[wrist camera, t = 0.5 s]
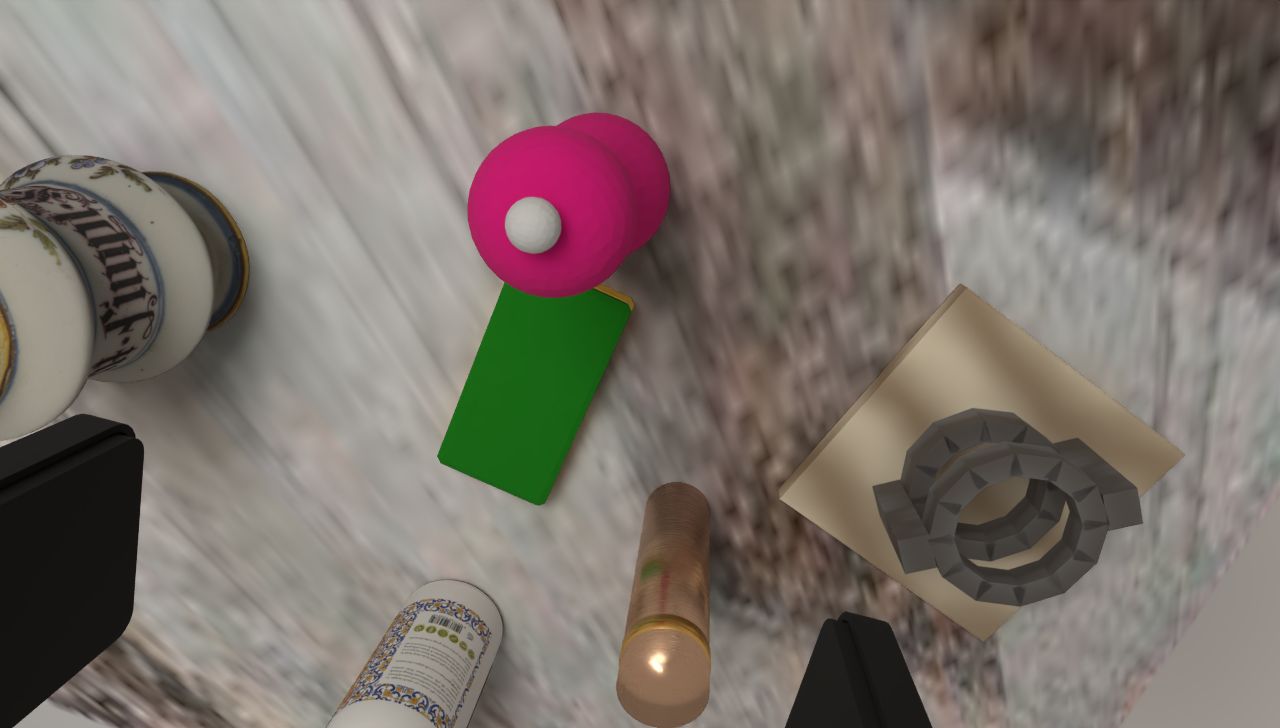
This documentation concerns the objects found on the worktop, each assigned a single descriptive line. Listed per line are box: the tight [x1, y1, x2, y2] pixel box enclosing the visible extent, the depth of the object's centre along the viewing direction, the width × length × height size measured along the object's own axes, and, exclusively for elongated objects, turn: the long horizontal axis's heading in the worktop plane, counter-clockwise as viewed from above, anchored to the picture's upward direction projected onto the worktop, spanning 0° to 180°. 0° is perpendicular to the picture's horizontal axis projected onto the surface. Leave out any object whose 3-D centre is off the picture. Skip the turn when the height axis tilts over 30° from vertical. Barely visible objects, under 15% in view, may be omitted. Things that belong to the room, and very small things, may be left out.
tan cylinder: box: [616, 482, 711, 728], centre depth 40 cm, size 4×4×16 cm
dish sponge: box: [437, 282, 634, 506], centre depth 45 cm, size 7×14×2 cm, turn 156°
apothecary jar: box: [0, 155, 249, 441], centre depth 37 cm, size 12×12×18 cm
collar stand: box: [778, 284, 1186, 642], centre depth 42 cm, size 16×16×8 cm
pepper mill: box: [468, 113, 670, 298], centre depth 33 cm, size 7×7×20 cm
